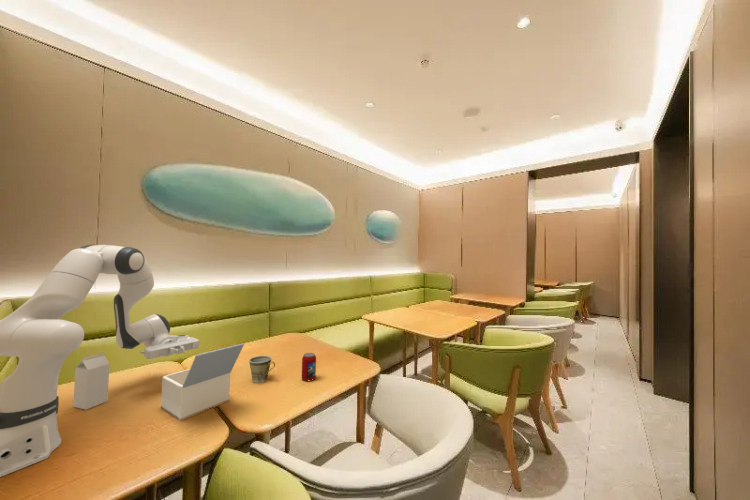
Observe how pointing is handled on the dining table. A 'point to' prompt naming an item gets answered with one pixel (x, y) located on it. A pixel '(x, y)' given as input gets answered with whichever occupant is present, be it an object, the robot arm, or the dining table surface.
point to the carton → (192, 394)
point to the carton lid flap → (212, 364)
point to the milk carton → (91, 382)
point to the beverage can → (308, 366)
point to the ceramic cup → (260, 368)
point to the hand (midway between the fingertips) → (180, 351)
